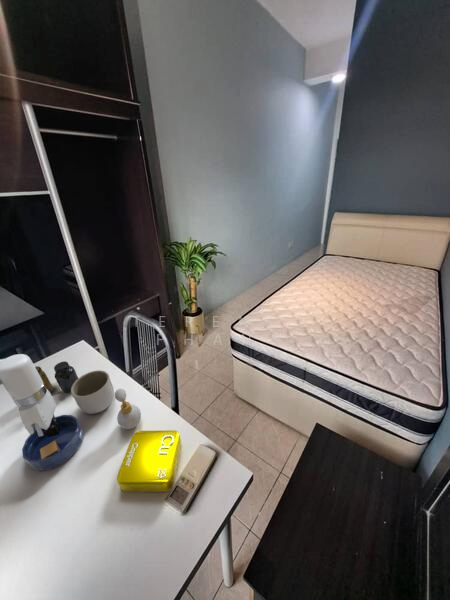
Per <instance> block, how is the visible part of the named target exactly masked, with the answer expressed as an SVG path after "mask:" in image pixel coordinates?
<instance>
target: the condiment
mask: <svg viewBox="0 0 450 600" xmlns="http://www.w3.org/2000/svg"><path fill="white" fill-rule="evenodd" d="M34 366H35V368H36V370H37V372H38V373H39V375H40V377H41V379H42V381H43V382H44V384H45V386H46V388H47V390H48V391H49V392H50V394H51V395H52V396H54V395H56V394H58V393H60V392H61V388H60V386H59V384H58V383H57V381H55V382H53V383H52V382H51V381H50V379H49V377H48V376H47V374H46V372H45V370H43V369H42V367H41V366H39V365H38V366H37V365H34Z"/></svg>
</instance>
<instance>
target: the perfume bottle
mask: <svg viewBox="0 0 450 600" xmlns="http://www.w3.org/2000/svg"><path fill="white" fill-rule="evenodd" d="M114 399H115V400H116V401H117V402H119V403H121V405H120V410H119V412H118V413H117V417H116V420H117V424H118V425H119V427H121V428H122V429H125V430H130V429H133V428H135V427H136V426H137V425H138V424H139V423H140V421H141V417H142V413H141V412H142V411H141V410H140V408H139V407H138V406H137V405H135V404H131V403H130V402H129V401H126V399H127V392H126V390H125V389H124V388H118V389H116V390H115V391H114Z"/></svg>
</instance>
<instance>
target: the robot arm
mask: <svg viewBox="0 0 450 600" xmlns="http://www.w3.org/2000/svg"><path fill="white" fill-rule="evenodd" d="M35 366H36V365H35V364H34V362H33V361H32V359H31V358H30V356H28V354H24V353H18V354H13V355H10V356H8V357H5V358H0V386H3V387H4V389H5V390H6V392H7V393H8V394H9V396H10V397H11V399H12V401H13V402H14V404H15V405H16V407H17V408H18V414H19V416H20V419H21V422H22V424H23V425H24V427H25V429H26V431H27V433H28V434H29V435H30V434H34V431H35V429H36V431H37V433H38V436H39V437H41V436H44V435H45V433H46V435H47V436H48V437H51V436H55V435H58V434H59V431H60V428H59V426H58V424H57V422H55V421H56V418H55V417H56V416H55V411H56V407H57V403H56V401H55V399H54V397H53V395H51V394H50V392H49V391H48V390H47V388H46V386H45V384H44V382H43V381H42V379H41V377H40V375H39V373H38V372H37V370H36V368H35Z"/></svg>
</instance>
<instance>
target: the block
mask: <svg viewBox="0 0 450 600" xmlns="http://www.w3.org/2000/svg"><path fill="white" fill-rule="evenodd" d="M59 451H60V448H59V446H58V444H57V443H56V441H53V442H51V443H50V444H48V445H46V446H44V447H43V448H41V449H40V453H41V458H42V459H45V458H49V457H51V456H53V455H54V454H56V453H58V452H59Z"/></svg>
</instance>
